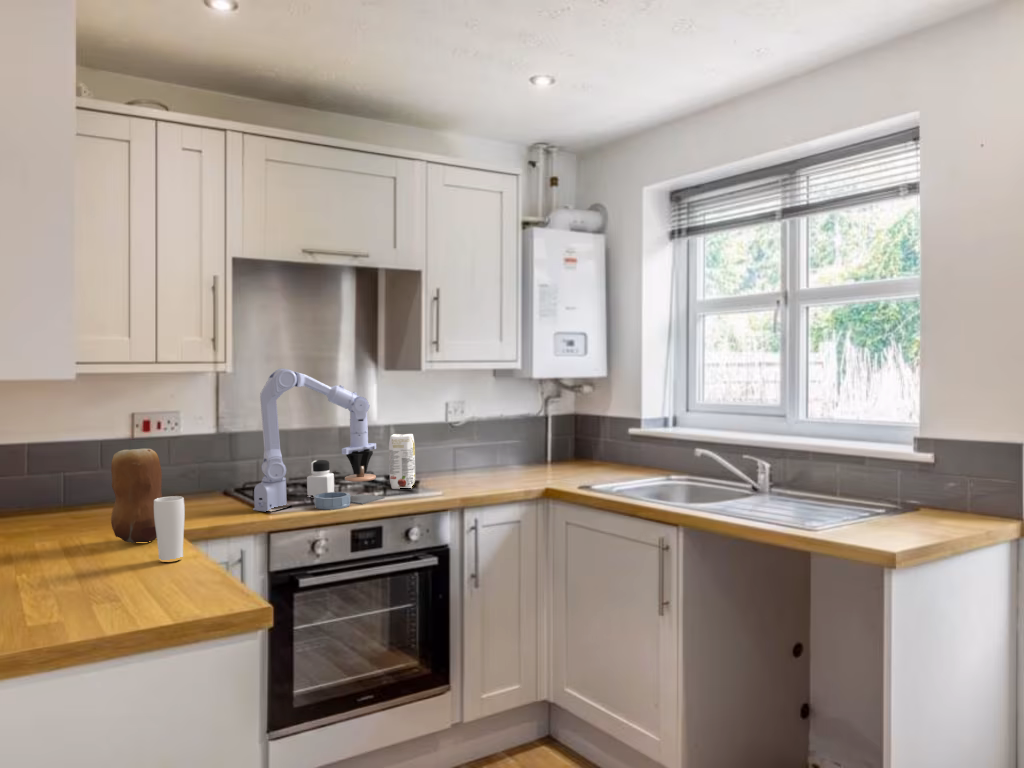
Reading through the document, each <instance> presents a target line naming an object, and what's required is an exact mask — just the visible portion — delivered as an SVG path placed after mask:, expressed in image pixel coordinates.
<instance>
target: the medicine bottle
mask: <svg viewBox="0 0 1024 768" xmlns="http://www.w3.org/2000/svg"><path fill="white" fill-rule="evenodd" d="M310 469H311V470H310V472H311V474H310V475H308V476H307V477H306V489H307V495H313V496H315V495H317V494H321V493H327V492H335V474H334V473H332V472H331V471H330V462H329V461H328V460H325V459H315V460H313V461H312V462H311V463H310Z"/></svg>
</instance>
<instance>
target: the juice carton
mask: <svg viewBox="0 0 1024 768" xmlns="http://www.w3.org/2000/svg"><path fill="white" fill-rule="evenodd" d="M415 449H416V445H415V437H414V434H413V433H406V434H400V433H393V434H392V435H390V436H389V443H388V452H389V453H388V455H389V457H388V459H389V482H390V483H389V484H390V487H391V489H392V490H401V489H400V488H411V489H412V488H413V487H414V486H415V482H416V450H415ZM413 485H414V486H413ZM412 486H413V487H412Z"/></svg>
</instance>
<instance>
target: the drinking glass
mask: <svg viewBox="0 0 1024 768" xmlns="http://www.w3.org/2000/svg"><path fill="white" fill-rule="evenodd" d="M185 507H186V506H185V498H184V497H183V496H179V495H175V496H173V495H172V496H162V498H157V499H155V500H154V521H155V529H156V536H157V538H156V543H157V550H158V560H159V559H161V560H170V559H176V558H180V557H183V558H184V539H185V538H184V535H185V521H186V519H185V518H186V517H185V516H186V515H185V513H186V512H185V511H186V508H185Z"/></svg>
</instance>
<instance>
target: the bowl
mask: <svg viewBox="0 0 1024 768" xmlns="http://www.w3.org/2000/svg"><path fill="white" fill-rule="evenodd" d="M350 496H351V493H349V492H347V491H346V492H345V491H334V492H327V493H321V494H317V495H315V496H314V497H313V498H314V499H313V500H314V501H313V504H314V508H315V507H316V508H315V509H318V510H321V511H322V510H323V511H324V510H325V511H328V510H329V511H330V510H341V509H345V508H349V507H350V506H351V503H350Z"/></svg>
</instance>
